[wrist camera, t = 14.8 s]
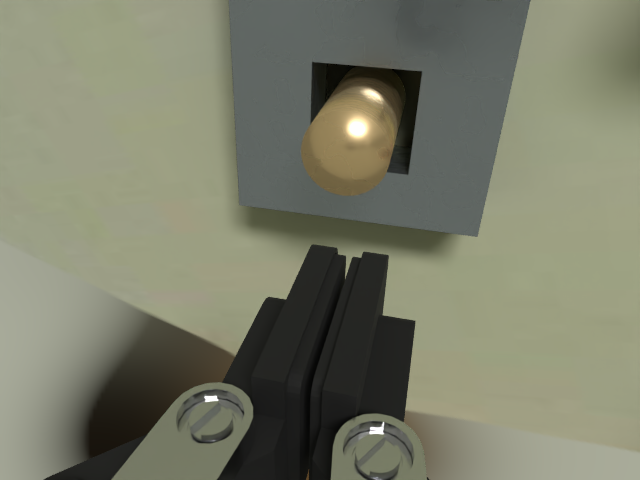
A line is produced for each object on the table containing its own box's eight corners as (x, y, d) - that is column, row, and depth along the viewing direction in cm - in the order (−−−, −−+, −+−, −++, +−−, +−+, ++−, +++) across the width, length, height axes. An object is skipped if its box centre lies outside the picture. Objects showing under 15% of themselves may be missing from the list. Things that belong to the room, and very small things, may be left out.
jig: (563, -213, 22) (583, -236, 19) (474, 204, 33) (477, 236, 30) (248, -213, 25) (216, -234, 21) (259, 177, 35) (239, 205, 32)
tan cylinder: (409, 65, 29) (395, 115, 22) (401, 134, 32) (385, 201, 24) (339, 59, 30) (302, 105, 23) (335, 127, 32) (300, 190, 25)
